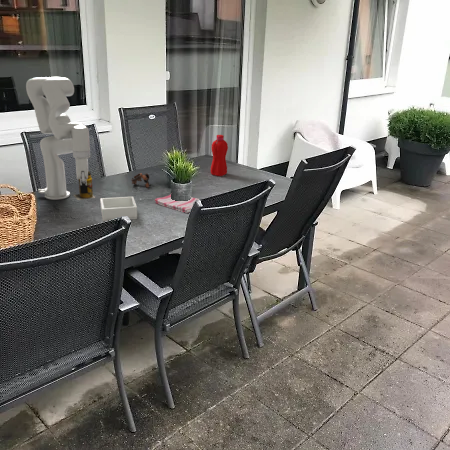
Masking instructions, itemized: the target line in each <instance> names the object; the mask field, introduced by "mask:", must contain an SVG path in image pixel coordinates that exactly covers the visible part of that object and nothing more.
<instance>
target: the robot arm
mask: <svg viewBox="0 0 450 450" xmlns="http://www.w3.org/2000/svg"><path fill="white" fill-rule="evenodd" d="M25 89H26V94H27V96H28V99H29V100H30V102H31V104H32V107H33V109H34V113H35V117H36V121H37V126H38V128H39V131H40V133H41V134H42V135H43V134H44V135H50V134H51V135H52V134H53V135H52V136H51V135H50V136H46V137H44V138H42V139H41V140H40V141H39V146H40V150H41V154H42V158H43V164H44V165H43V166H44V173H45V183H46V187H45V188H38V190H37V191H38V194H39V193H40V195H43V194H44V198H46V199H47V200H53V201H55V200H64V199H67V198H69V197H70V195H71V192H70V191H68V190H67V181H66V172H65V163H64V160H63V159H61V158H60V157H59V156H60V155H66V154H72V158H74V159H75V172H76V173H75V175H76V180H79V179H80V183H81V185H80V192H81V194H84V193H88V188H87V181H86V179H88V171H89V161H88V160H89V158H91V148H90V147H91V145H90V144H91V143H90V131H89V128H88V127H87V126H85V125H84V124H83V122H81V121H73V122H72V120H71V118H70V116H68V115H67V114H66V112H68V110H69V109H70V107H71V106H70V105H71V104H70V102H69V99H68V98H67V97H72V96H73V95H74V93H75V85H74V84H73V82H72V80H71V79H69V78H68V77H61V76H51V77H50V76H49V77H47V76H45V77H42V76H41V77H33V78H29V79H28V80H27V81H26V84H25ZM81 172H82V174H81ZM81 178H82V179H81ZM85 178H86V179H85ZM81 180H82V181H81ZM85 183H86V184H85Z"/></svg>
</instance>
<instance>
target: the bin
mask: <svg viewBox="0 0 450 450" xmlns="http://www.w3.org/2000/svg"><path fill="white" fill-rule="evenodd" d="M99 200H100V212H101V218H102V222H109V221H108V220H111V219H114V218H117V217H121V216H128V217H129V218H130V219H129V220H137V219H138V206H137V204H136V201H135V198H134V196H120V197H119V196H118V197H116V196H115V197H105V198H104V197H103V198H102V197H101V198H100V199H99Z"/></svg>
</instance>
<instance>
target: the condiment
mask: <svg viewBox="0 0 450 450" xmlns="http://www.w3.org/2000/svg"><path fill="white" fill-rule="evenodd" d="M81 174H82V172H81ZM81 179H82V178H81ZM85 179H86V178H85ZM81 181H82V180H81ZM86 181H87V188H88V193H84V194H81V192H80V185H81V183H80V179H78V191H79V192H78V194H73V197H74V198H75V199H76V200H77V201H81V200H82V201H83V200H90V199H95V198H96V196H94V194H93V193H94V192H93V190H94V189H93V178H92V174H91V172H90V171H89V170H88V179H86ZM85 184H86V183H85Z"/></svg>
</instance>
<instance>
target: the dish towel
mask: <svg viewBox="0 0 450 450" xmlns="http://www.w3.org/2000/svg"><path fill="white" fill-rule="evenodd" d="M171 194H172V193H171ZM171 194H169V195H165V196H163V197H157V198H155V199H154V202H155V204H157V205H160V206H163V207H165V208H166V207H167V208H169V209H172V210H174V209H175V211H177V210H178V212H180V211H181V213H184V212H185V213H184V214H189V212H190V210H191V208H192V206H193V203H194V202H195V201H196V200H199V199H200V198H196V197H192V196H190V197H191V199H190V200H188V201H175V200H172V199H171ZM190 213H191V212H190Z"/></svg>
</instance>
